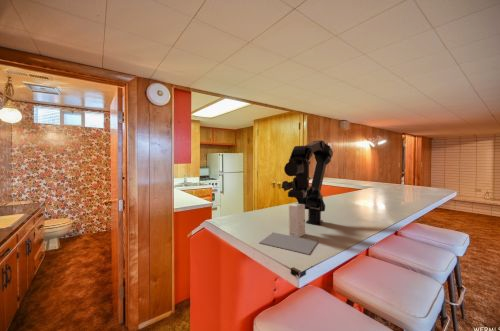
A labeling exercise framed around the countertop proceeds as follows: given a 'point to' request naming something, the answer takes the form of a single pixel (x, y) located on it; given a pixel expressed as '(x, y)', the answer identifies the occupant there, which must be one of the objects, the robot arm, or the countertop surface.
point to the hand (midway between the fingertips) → (302, 211)
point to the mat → (290, 243)
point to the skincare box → (297, 220)
